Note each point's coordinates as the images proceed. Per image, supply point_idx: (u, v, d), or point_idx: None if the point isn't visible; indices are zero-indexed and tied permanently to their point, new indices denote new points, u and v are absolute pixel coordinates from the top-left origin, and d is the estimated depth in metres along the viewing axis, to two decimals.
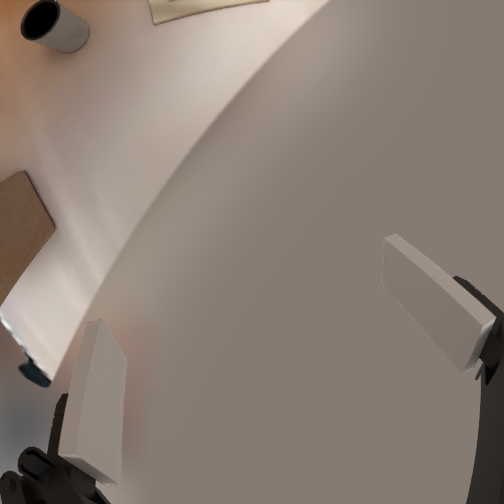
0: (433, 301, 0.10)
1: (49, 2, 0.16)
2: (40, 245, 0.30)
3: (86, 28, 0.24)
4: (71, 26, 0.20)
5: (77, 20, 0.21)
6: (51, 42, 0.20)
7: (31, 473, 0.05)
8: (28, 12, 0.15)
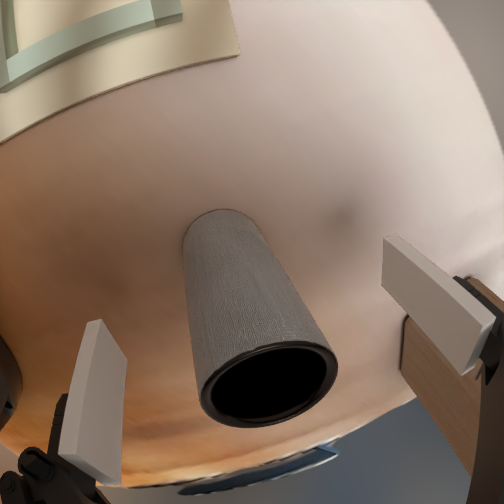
0: (433, 301, 0.10)
1: None
2: None
3: (222, 218, 0.15)
4: (265, 270, 0.11)
5: (229, 251, 0.12)
6: None
7: (31, 473, 0.05)
8: (231, 421, 0.09)
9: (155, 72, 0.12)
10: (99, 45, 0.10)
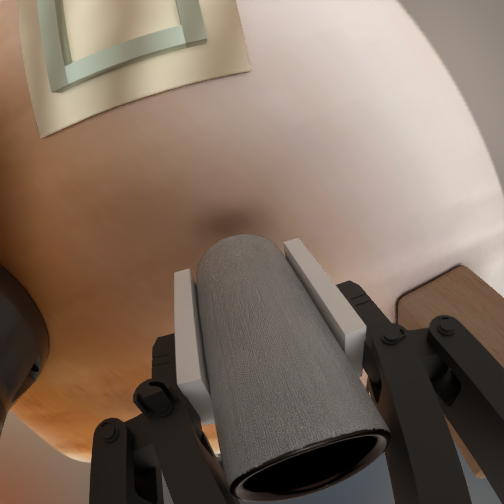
0: (315, 305, 0.12)
1: None
2: (494, 291, 0.23)
3: (244, 247, 0.13)
4: (306, 325, 0.09)
5: (258, 296, 0.10)
6: None
7: (145, 405, 0.08)
8: (262, 498, 0.07)
9: (185, 83, 0.16)
10: (141, 59, 0.14)
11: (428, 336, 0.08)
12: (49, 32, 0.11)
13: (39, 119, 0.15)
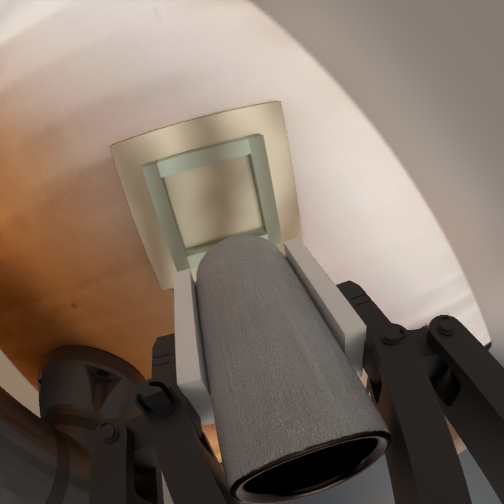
0: (315, 305, 0.12)
1: None
2: None
3: (244, 247, 0.13)
4: (306, 327, 0.09)
5: (258, 297, 0.10)
6: None
7: (145, 405, 0.08)
8: (263, 499, 0.07)
9: None
10: None
11: (428, 336, 0.08)
12: (169, 229, 0.24)
13: (160, 279, 0.28)
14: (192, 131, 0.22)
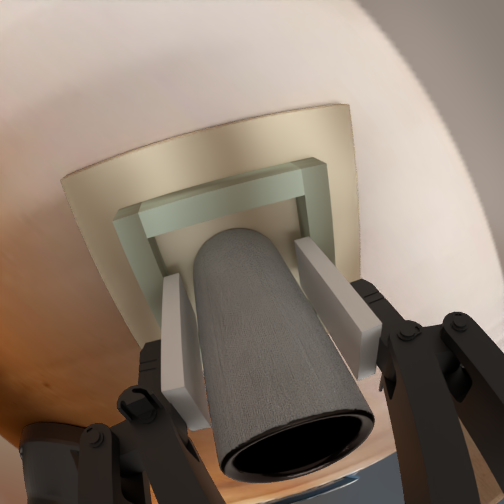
0: (329, 303, 0.11)
1: None
2: None
3: (238, 240, 0.14)
4: (294, 313, 0.09)
5: (250, 286, 0.11)
6: None
7: (129, 412, 0.08)
8: (253, 478, 0.08)
9: None
10: None
11: (441, 332, 0.08)
12: None
13: None
14: (201, 152, 0.13)
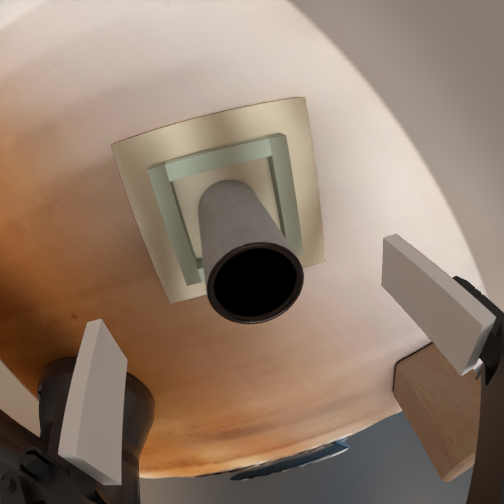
0: (433, 301, 0.10)
1: (219, 271, 0.13)
2: None
3: (228, 184, 0.20)
4: (256, 211, 0.16)
5: (232, 201, 0.17)
6: None
7: (31, 473, 0.05)
8: (228, 313, 0.14)
9: None
10: None
11: None
12: (178, 239, 0.22)
13: (168, 291, 0.25)
14: (205, 129, 0.20)
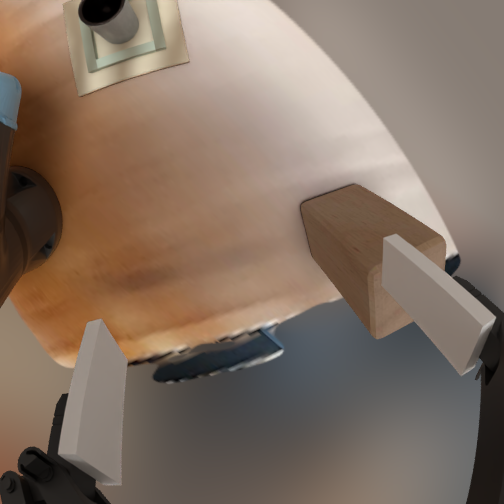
0: (433, 301, 0.10)
1: (85, 0, 0.17)
2: (376, 195, 0.38)
3: None
4: None
5: None
6: (129, 6, 0.20)
7: (31, 473, 0.05)
8: (85, 20, 0.18)
9: (156, 69, 0.30)
10: (134, 57, 0.29)
11: None
12: (87, 41, 0.25)
13: (78, 86, 0.29)
14: None
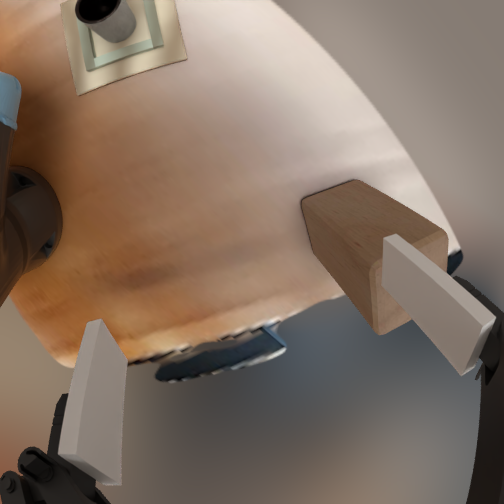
0: (433, 301, 0.10)
1: None
2: (376, 190, 0.38)
3: None
4: None
5: None
6: (126, 4, 0.20)
7: (31, 473, 0.05)
8: (82, 18, 0.18)
9: (154, 67, 0.30)
10: (131, 56, 0.28)
11: None
12: (85, 40, 0.25)
13: (77, 85, 0.28)
14: None
